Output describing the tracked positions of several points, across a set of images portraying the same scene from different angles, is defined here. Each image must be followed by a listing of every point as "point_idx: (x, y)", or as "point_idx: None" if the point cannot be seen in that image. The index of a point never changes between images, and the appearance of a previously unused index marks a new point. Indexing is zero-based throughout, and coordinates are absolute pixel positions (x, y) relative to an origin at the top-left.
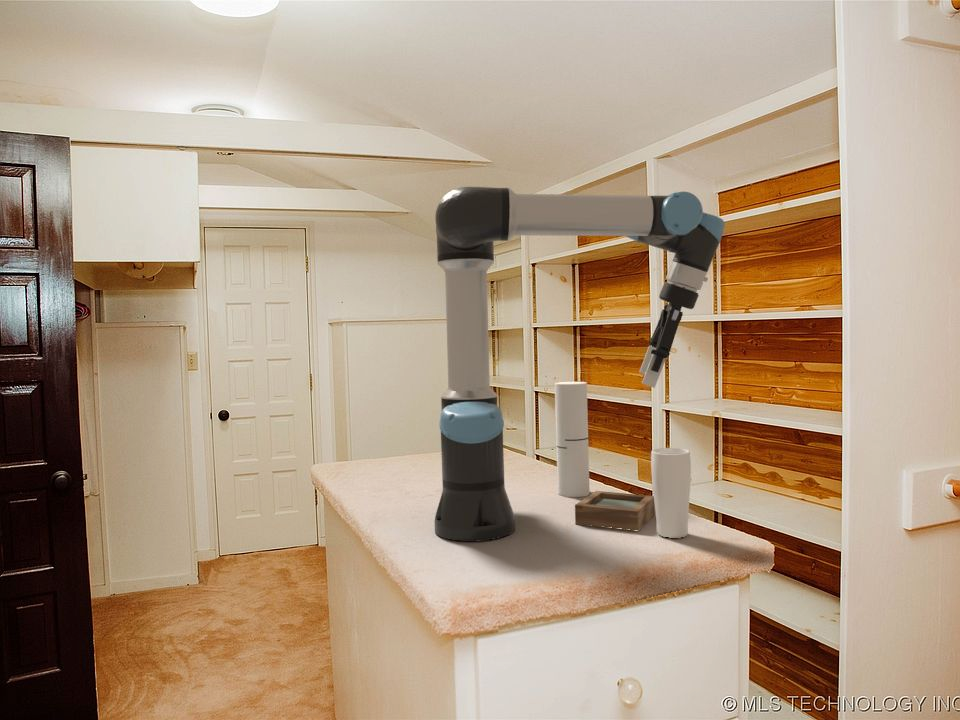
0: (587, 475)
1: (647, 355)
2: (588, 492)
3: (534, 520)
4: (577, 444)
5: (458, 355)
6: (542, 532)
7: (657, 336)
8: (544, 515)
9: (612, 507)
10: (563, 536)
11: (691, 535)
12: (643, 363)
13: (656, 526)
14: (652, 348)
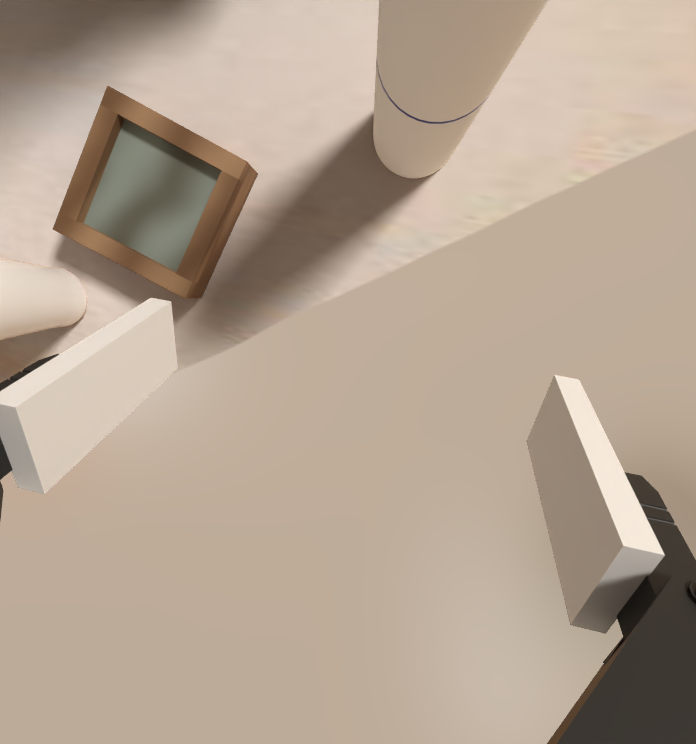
0: (395, 155)
1: (586, 478)
2: (395, 171)
3: (164, 4)
4: (377, 78)
5: None
6: (73, 20)
7: (577, 707)
8: (206, 33)
9: (85, 177)
10: (46, 68)
11: (62, 332)
12: (568, 421)
13: (53, 267)
14: (602, 559)
